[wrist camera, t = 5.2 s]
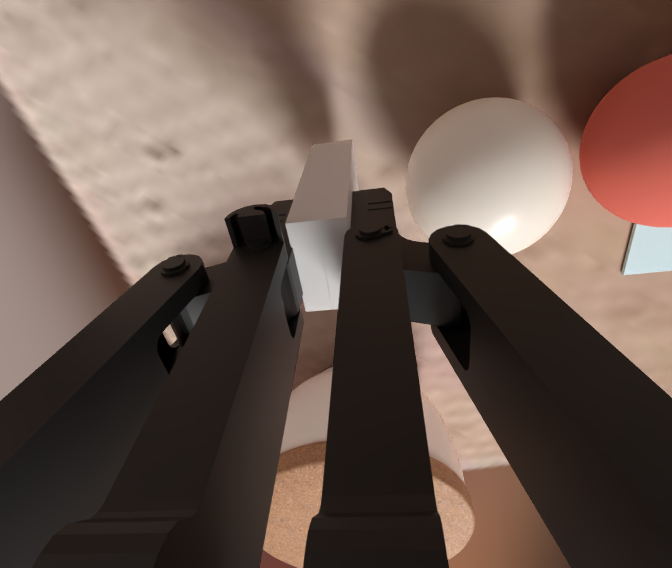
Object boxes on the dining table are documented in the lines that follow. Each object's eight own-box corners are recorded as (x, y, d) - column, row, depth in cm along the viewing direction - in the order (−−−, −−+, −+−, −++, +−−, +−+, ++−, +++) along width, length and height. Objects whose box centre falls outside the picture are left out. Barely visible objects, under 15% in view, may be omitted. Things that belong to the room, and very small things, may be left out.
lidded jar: (342, 468, 30) (335, 631, 22) (234, 382, 26) (178, 549, 18) (479, 412, 26) (529, 589, 18) (379, 299, 22) (389, 468, 14)
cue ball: (588, 156, 10) (618, 105, 14) (393, 97, 12) (462, 66, 16) (507, 314, 14) (548, 241, 18) (367, 247, 16) (429, 195, 20)
